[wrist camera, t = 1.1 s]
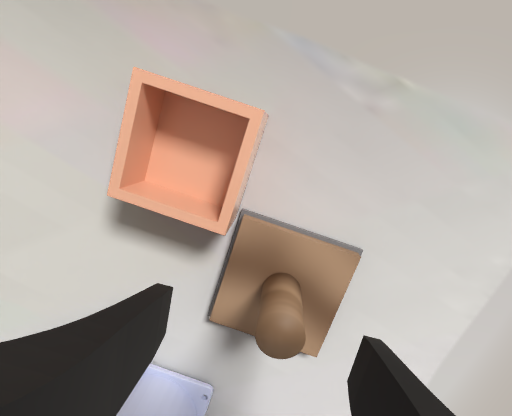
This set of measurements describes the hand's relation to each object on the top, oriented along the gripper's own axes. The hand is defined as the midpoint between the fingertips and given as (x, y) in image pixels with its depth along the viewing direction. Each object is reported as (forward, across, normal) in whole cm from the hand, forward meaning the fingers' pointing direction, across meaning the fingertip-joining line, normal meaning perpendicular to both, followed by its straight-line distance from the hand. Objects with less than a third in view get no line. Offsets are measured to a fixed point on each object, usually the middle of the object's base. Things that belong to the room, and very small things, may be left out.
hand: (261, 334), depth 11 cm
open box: (+10, +6, -5) cm, 13 cm away
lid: (+10, -1, +3) cm, 10 cm away
